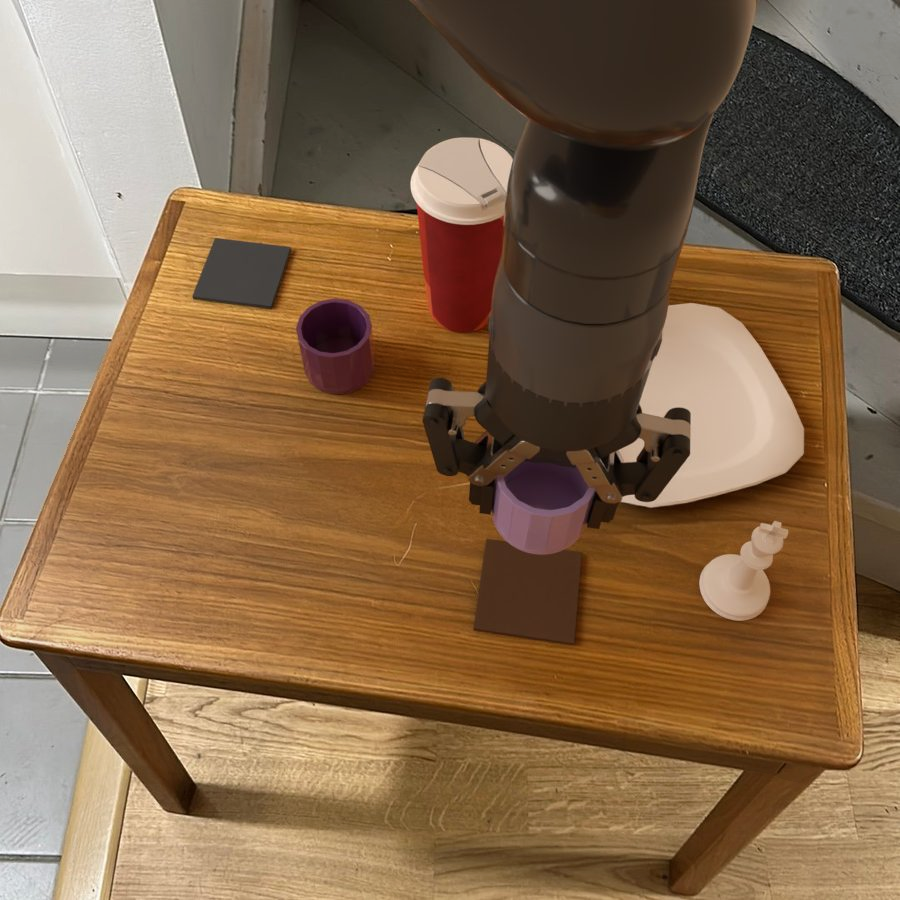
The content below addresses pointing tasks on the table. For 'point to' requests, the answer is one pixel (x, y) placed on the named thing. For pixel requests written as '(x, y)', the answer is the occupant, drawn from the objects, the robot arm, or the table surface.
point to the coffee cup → (461, 228)
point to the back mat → (242, 273)
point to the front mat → (528, 593)
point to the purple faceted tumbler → (336, 345)
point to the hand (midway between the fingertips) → (539, 507)
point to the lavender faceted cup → (541, 507)
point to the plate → (718, 407)
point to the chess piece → (742, 575)
